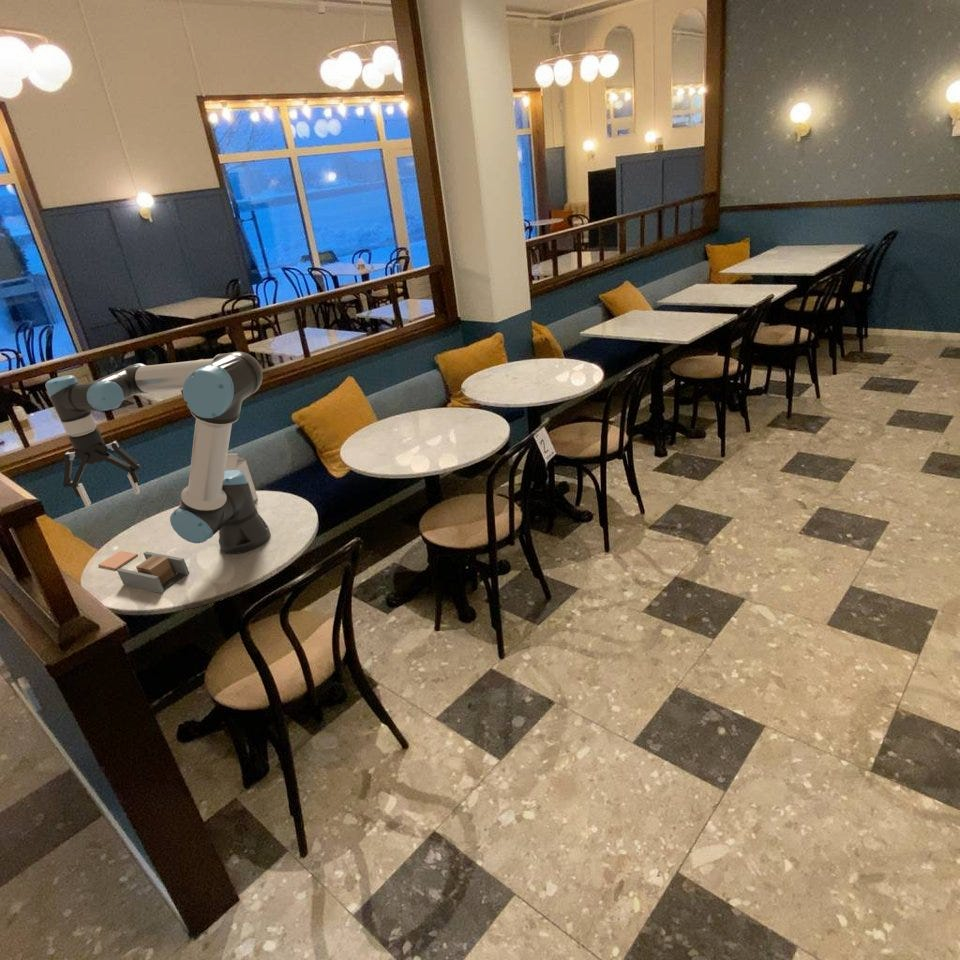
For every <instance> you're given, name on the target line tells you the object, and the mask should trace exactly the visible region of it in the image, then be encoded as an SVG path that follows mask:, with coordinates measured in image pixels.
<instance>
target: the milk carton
mask: <svg viewBox="0 0 960 960" xmlns="http://www.w3.org/2000/svg"><path fill="white" fill-rule="evenodd" d="M226 470H239V471H242V472H243V473H244V474H245V476H246V478H247V481H248V482H249V483H248V484H249V487H250V490H251V493H252V496H253V500H254V502H256V501H257V500H258V498H259V497H258V495H257V491H256V488H255V485H254V481H253V479H252V475H251V472H250V469H249V466H248V462H247V460H246V459H244V458H243V457H240V456H239V455H238V453H227V460H226V467H225V471H226Z"/></svg>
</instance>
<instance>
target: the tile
mask: <svg viewBox="0 0 960 960" xmlns="http://www.w3.org/2000/svg"><path fill="white" fill-rule="evenodd" d="M138 556H139V554H138V553H135V552H129V551H125V550H119V551H118V552H116V553H114V554H113V555H111V556H109V557H108V558H107V559H105V560H103V561H102V562H100V563H98V564H97V565H98V567H101V568H106V569H110V570H114V571H117V570H118V569H120V568H121V567H122V566H125V565H126V564H127V563H130V562H131V561H132V560H134V559H135V558H137V557H138ZM116 569H117V570H116Z"/></svg>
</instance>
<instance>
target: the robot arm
mask: <svg viewBox="0 0 960 960" xmlns="http://www.w3.org/2000/svg"><path fill="white" fill-rule="evenodd" d="M263 377H264V375H263V369H262V367H261V364H260V363H259V362H258V360H257V359H256V357H254V356H252V355H251V354H250V353H247V352H243V351H233V352H227V353H218V354H216V355H215V356H214V357H213V358H206V359H199V360H188V361H179V362H171V363H169V362H168V363H160V364H151V365H150V364H149V365H148V364H147V365H146V364H144V363H142V362H141V363H139V362H138V363H134V364H131V365H127V366H126V367H124V368H122V369H120V370H118V371H114V372H113V373H110V374H108V375H105V376H103V377H100V378H98V379H97V380H94V381H90V382H89V381H88V382H83V383H81V382H79V381H78V379H77V378H76V376H74V375H72V374H69V375H68V374H67V375H62V376H58V377H54V378H51V379H50V380H48V381H46V382H45V389H46V391H47V394H48V398H49V399H50V401H51V404H52V405H53V407H54V410H55V411H56V413H57V416H58V417H59V420H60V421H61V424H62V426H63V428H64V431H65V433H66V435H68V440H69V442H70V443H71V445H72V446H71V447H72V448H73V449H74V451H71V452H70V451H66V452H65V453H64V454H63V460H64V462H65V465H64V474H63V481H62V482H63V485H62V486H63V487H64V488H68V487H69V488H72V489H73V491H74V494H75V496H76V497H77V498H79V497H80V498H81V500H82V502H83V504H84V506H85V507H86V508H89V507H90V506H91V504H92V501H91V500H90V498H89V497H90V496H89V495H88V493H87V491H86V489H85V486H84V485H83V483H82V482H81V483H79V482H80V480H81V478H82V475H83V473H84V472H85V469H86V466H87V464H88V465H93V464H95V463H102V462H103V461H104V462H107V463H109V464H111V465H114V466H116V467H118V468H120V469H121V470H123V471H125V472H128V473H127V474H126V476H127V478H128V480H129V482H130V485H131V486H132V489H133V491H134V493H135V496H136V495H137V496H138V495H139V494H140V492H141V489H140V487H139V485H138V482H139V481H140V478H139V475H138V473H137V471H138V470H139V469H140V468H141V463H140V462H139V461H138V460H136V459H135V458H134V457H133V456H132V455H131V454H129V453H128V452H127V451H126V450H125V449H124V448H123V447H121V445H120V444H119V441H118V440H113V441H112V442H110V443H105V441H104V439H103V437H102V434H101V431H100V430H99V428H97V423H96V420H95V418H94V416H93V414H92V412H94V411H97V412H98V411H102V412H103V411H104V412H105V411H110V410H115V409H117V408H119V407H120V406H121V405H122V403H123V401H125V400H127V399H129V398H131V397H134V396H135V395H140V394H149V393H162V392H175V391H182V398H183V401H184V402H186V403H187V404H186V406H187V408H188V409H189V411H190V414H191V415H192V416H193V417H194V418H195V424H194V434H193V439H192V441H193V442H192V450H191V460H190V468H189V469H190V470H189V477H188V485H187V486H186V487H185V488H183V489H182V491H181V493H180V501H179V506H178V507H177V508H176V509H174V510H173V511H172V513H171V514H170V516H169V521H170V526H171V527H172V529H173V531H174V532H176V534H177V535H178V536H179V537H180V538H181V539H182V540H185V541H187V542H189V543H191V544H203V543H205V542H207V541H208V540H209V539H211V538H213V536H214V535H215V534H217V533H218V535H219V536H218V543H219V547H220V549H221V551H222V552H223V553H226V554H240V553H245V552H248V551H251V550H253V549H254V550H255V549H256V548H258V547H261V545H263V544H264V543H266V542H267V541H268V540H269V539H270V537H271V530H270V527H269V525H268V524H267V523H266V522H265V520H264V519H263V517H262V516H261V515H260V514H259V512H258V510H257V509H258V508H257V507H256V504H255V503H256V502H255V501H254V500H253V496H252V493H251V490H250V487H249V484H248V483H249V482H248V481H247V478H246V476H245V474H244V473H243V472H242V471H239V470H226V471H225V467H226V460H227V454H229V445H230V439H231V433H232V432H231V431H232V426H233V424H234V423H236V422H237V421H239V420H240V419H239V418H240V414H241V409H242V405H243V401H244V400H246V399H247V398H249V397H251V396H252V395H253V394H255V393H256V392H257V391H258V390H259V389H260V388H261V385H262V382H263ZM109 449H110V451H114V452H115V453H116V454H117V455H118V456H119V457H120V458H122V459H123V460H121V459H120V458H118V457H116V456H114V455H113V454H112V453H110V452H108V451H109ZM75 458H77V459H79V460H80V463H79V466H78V468H77V471H76V473H75V475H74V477H73V480H71V479H72V473H73V472H72V470H73V461H74V460H75Z"/></svg>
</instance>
